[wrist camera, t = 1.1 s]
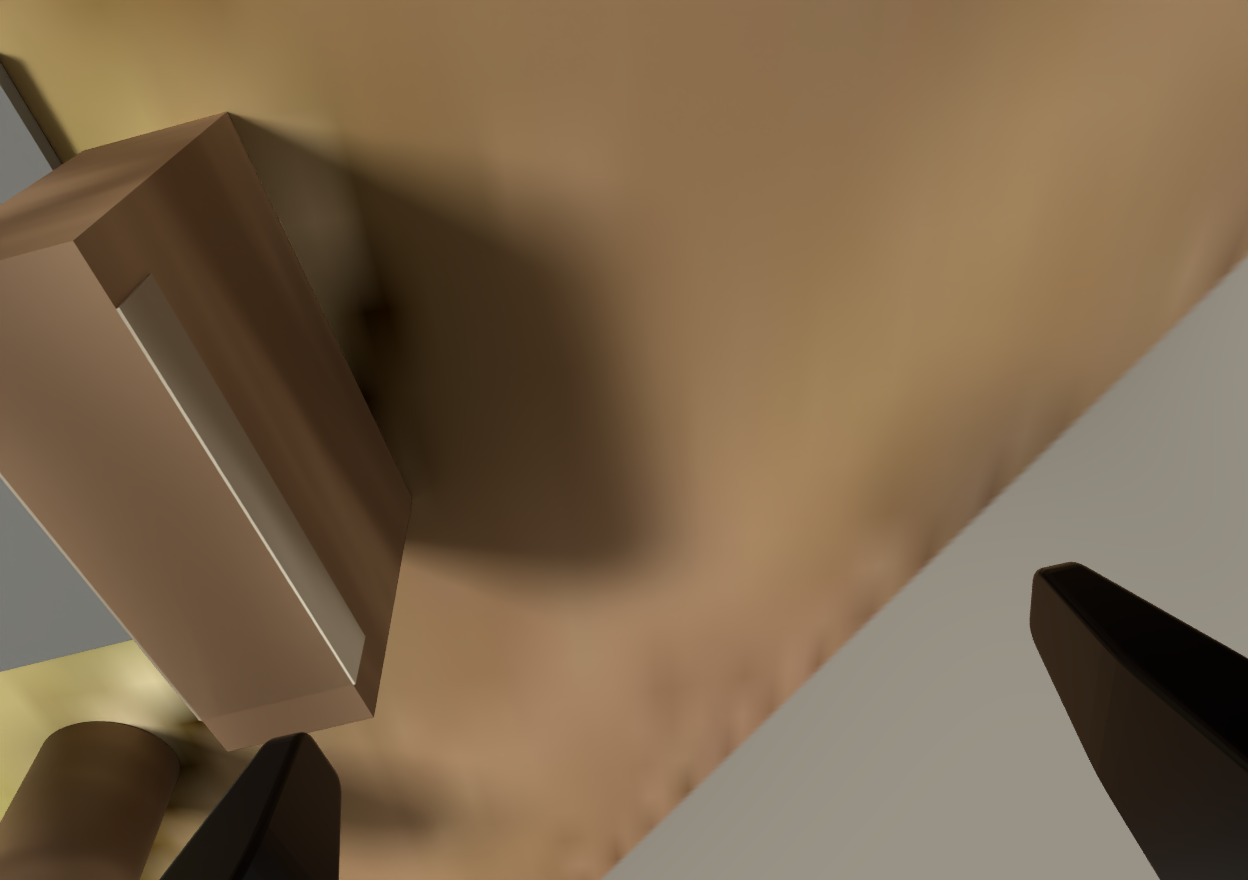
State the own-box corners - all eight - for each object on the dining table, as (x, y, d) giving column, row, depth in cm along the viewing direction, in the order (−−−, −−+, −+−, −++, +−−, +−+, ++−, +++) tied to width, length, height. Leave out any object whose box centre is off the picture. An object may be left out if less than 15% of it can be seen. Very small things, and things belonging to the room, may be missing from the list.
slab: (230, 110, 17) (76, 239, 11) (414, 497, 23) (376, 716, 17) (82, 150, 17) (-146, 298, 11) (301, 525, 23) (225, 752, 17)
